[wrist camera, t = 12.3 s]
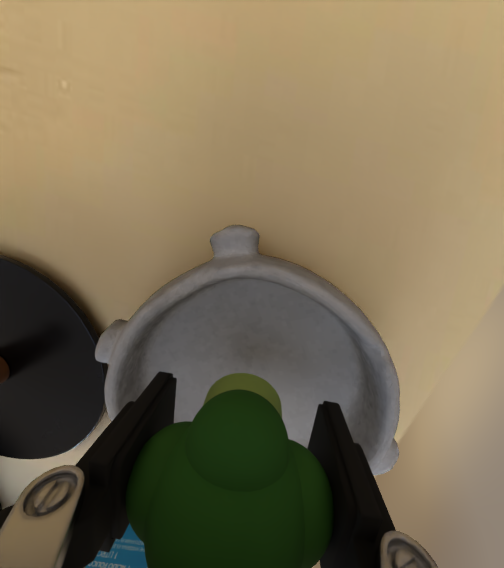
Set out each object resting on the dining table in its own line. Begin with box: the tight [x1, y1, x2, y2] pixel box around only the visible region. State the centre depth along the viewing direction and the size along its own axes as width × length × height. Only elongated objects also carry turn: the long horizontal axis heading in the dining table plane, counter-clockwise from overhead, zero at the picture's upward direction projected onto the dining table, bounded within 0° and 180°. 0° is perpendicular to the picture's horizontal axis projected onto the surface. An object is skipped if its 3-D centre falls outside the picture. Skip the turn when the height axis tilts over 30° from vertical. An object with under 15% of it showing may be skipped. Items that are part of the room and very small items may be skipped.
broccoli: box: [125, 373, 334, 568], centre depth 8 cm, size 6×6×6 cm
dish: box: [95, 225, 400, 475], centre depth 13 cm, size 14×14×5 cm
